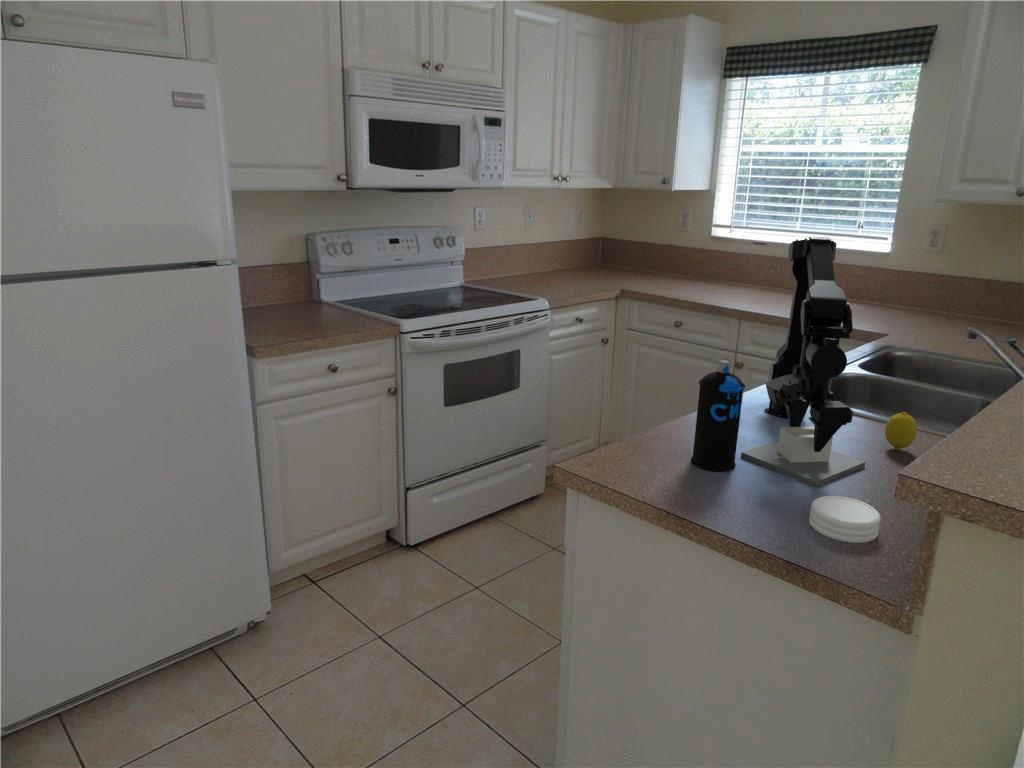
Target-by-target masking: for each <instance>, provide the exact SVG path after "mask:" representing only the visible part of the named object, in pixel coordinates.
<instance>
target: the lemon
mask: <svg viewBox="0 0 1024 768" xmlns="http://www.w3.org/2000/svg"><path fill="white" fill-rule="evenodd" d="M917 426H918V425H917V422H916V420H915V418H914V417H913V416H911V415H910V414H908V413H907V412H905V411H902V412H899V413H896V414H894V415H891V417H890V418H889V419H888V421H887V423H886V425H885V428H884V435H885V436H884V437H885V440H886V442H887V443H888V444H889V445H890V446H892V447H893V448H894V449H895V450H897V451H899V450H901V449H904V448H907V447H910V446H911V445H912V444H913V443H914V442H915V440H916V439H917V438H916V437H917V435H918V434H917V433H918V427H917Z"/></svg>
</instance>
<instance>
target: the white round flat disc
mask: <svg viewBox="0 0 1024 768" xmlns="http://www.w3.org/2000/svg"><path fill="white" fill-rule="evenodd" d="M881 520H882V516H881V515H880V512H878V510H877V509H875V508H874V507H873V506H871V505H870V504H868V503H866V502H865V501H864V502H863V501H862V500H859V499H855V498H851V497H847V496H840V495H826V496H825V495H824V496H820V497H817V498H816V499H814V500H813V501H812V502H811V505H810V511H809V517H808V522H809V526H810V527H811V528H813V530H815V531H816V532H817V533H819V534H821V535H823V536H824V537H827V538H829V539H832V540H835V541H838V542H843V543H851V544H864V543H869V542H872V541H873V540H875V539H876V538H877V537H878V535H879V529H880V526H881V525H880V523H881Z"/></svg>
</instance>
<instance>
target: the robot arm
mask: <svg viewBox="0 0 1024 768" xmlns="http://www.w3.org/2000/svg"><path fill="white" fill-rule="evenodd" d="M834 240H835V239H833V238H830V237H820V236H809V237H806V238H796V240H793V241H792V242H791V243H790V244H789V246H788V252H787V253H788V255H787V261H788V262H789V267H790V270H791V272H792V275H793V276H794V278H795V279H794V286H793V293H792V298H791V304H790V305H791V306H790V311H789V312H790V313H789V318H788V319H789V320H788V324H787V331H786V338H785V343H784V344H783V345H782V346H781V347H780V348H779V349H778V350H777V352H776V354H775V359H774V361H772V362H771V364H770V367H769V368H770V369H769V371H768V376H767V381H766V382H765V387H766V393H767V395H768V400H769V405H768V407H766V408H764V410H763V411H764V412H766V413H769V414H773V415H775V416H778V417H781V418H785V419H787V420H788V425H789V426H788V427H802V423H803V422H804V418H805V416H806V414H807V411H808V408H809V413H810V417H809V416H808V420H810V422H811V423H812V424H813V427H814V451H815V452H820V451H821V450H822V449H823V448H824V446H825V445H826V444H827V443H828V441H829V440H830V439H831V437H833V436H835V434H836V433H837V431H839V430H840V429H841V428H842V426H846V425H847V424H851V423H852V422H853V417H854V410H852V409H851V407H849V406H848V405H846V404H844V403H843V402H842V401H839V400H833V399H834V398H835V393H834V392H832V391H831V385H832V380H833V379H834V378H837V377H838V376H840V375H841V374H842V373H843V372H844V371H845V369H846V368H847V365H848V358H847V355H846V353H845V351H843V349H842V348H841V347H840V340H841V339H844V340H845V339H850V336H851V333H852V331H854V330H853V328H854V327H853V326H854V325H853V311H852V308H851V304H850V303H849V302H848V301H847V297H846V293H845V290H844V289H842V288H841V287H840V286H839V285H837V283H836V276H835V275H836V274H835V268H834V262H835V260H836V254H837V253H836V251H837V242H835V241H834ZM829 399H830V400H829Z"/></svg>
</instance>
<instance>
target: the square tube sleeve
mask: <svg viewBox="0 0 1024 768" xmlns="http://www.w3.org/2000/svg"><path fill="white" fill-rule="evenodd" d="M833 438H834V437H833V436H832V437H831V439H830V440H829V441H828V443H827V444H826V445H825V446H824V448H823V449H822V450H821V451H820V452H815V451H814V426H800V427H790V426H781V427H780V430H779V438H778V440H779V444H778V452H779V453H780V454H781V455H782V456H784V457H785V458H786V459H787V460H788V461H789V462H791V463H799V462H829V458H830V452H831V450H832V445H833Z"/></svg>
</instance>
